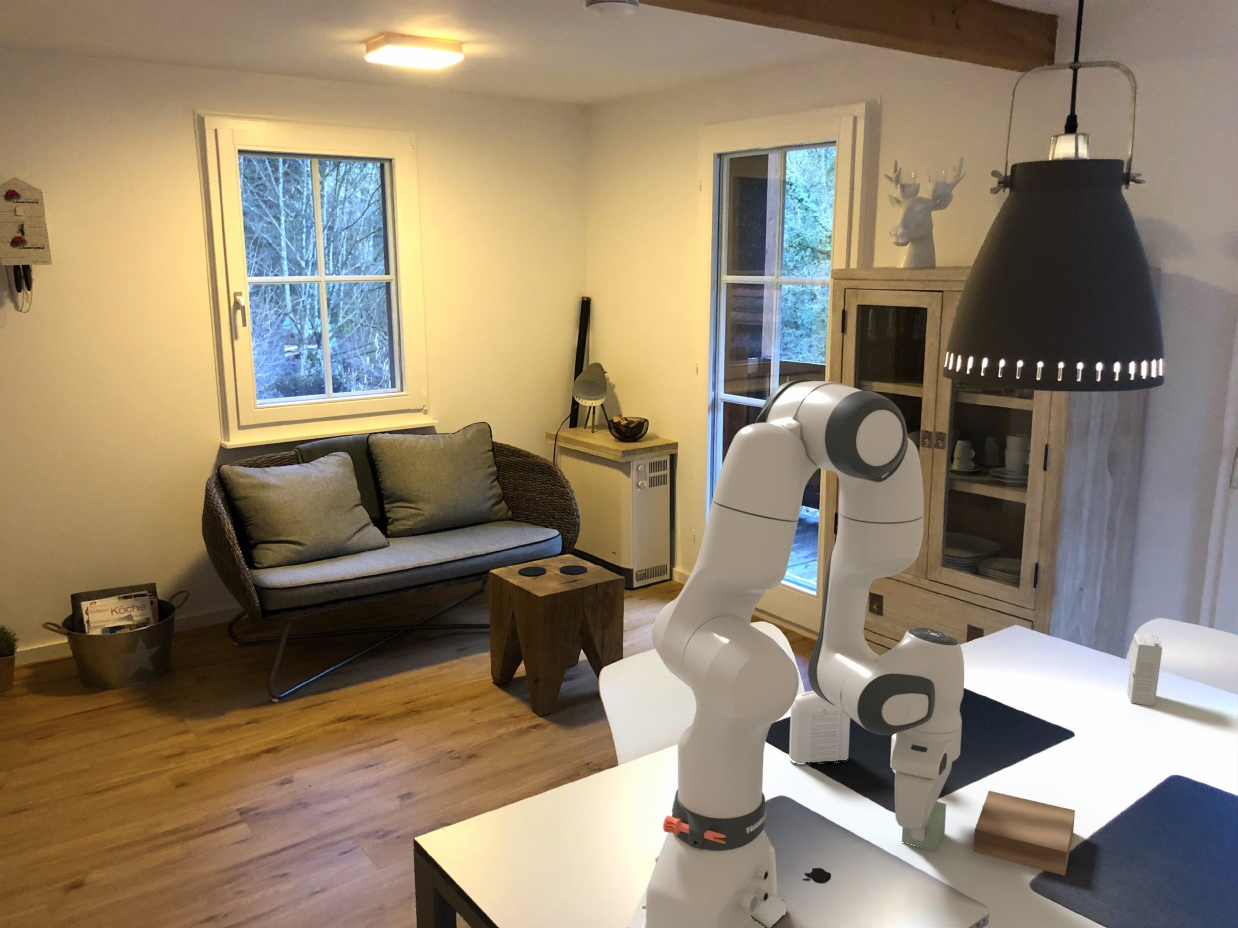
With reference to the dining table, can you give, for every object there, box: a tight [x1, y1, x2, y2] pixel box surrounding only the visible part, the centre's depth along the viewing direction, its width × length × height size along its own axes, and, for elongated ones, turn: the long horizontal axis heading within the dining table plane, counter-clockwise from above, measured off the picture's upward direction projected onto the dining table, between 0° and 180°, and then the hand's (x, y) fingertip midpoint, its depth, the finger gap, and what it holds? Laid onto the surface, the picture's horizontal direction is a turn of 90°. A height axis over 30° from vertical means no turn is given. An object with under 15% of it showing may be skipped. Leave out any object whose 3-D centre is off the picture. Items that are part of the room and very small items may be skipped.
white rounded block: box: [788, 690, 851, 763], centre depth 167 cm, size 10×4×12 cm, turn 98°
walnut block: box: [973, 790, 1076, 876], centre depth 143 cm, size 12×12×4 cm
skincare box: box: [1126, 633, 1163, 706], centre depth 188 cm, size 6×4×12 cm
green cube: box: [901, 801, 947, 853], centre depth 144 cm, size 5×5×5 cm
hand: (923, 826), depth 144 cm, fingers closed on green cube, 5 cm apart
